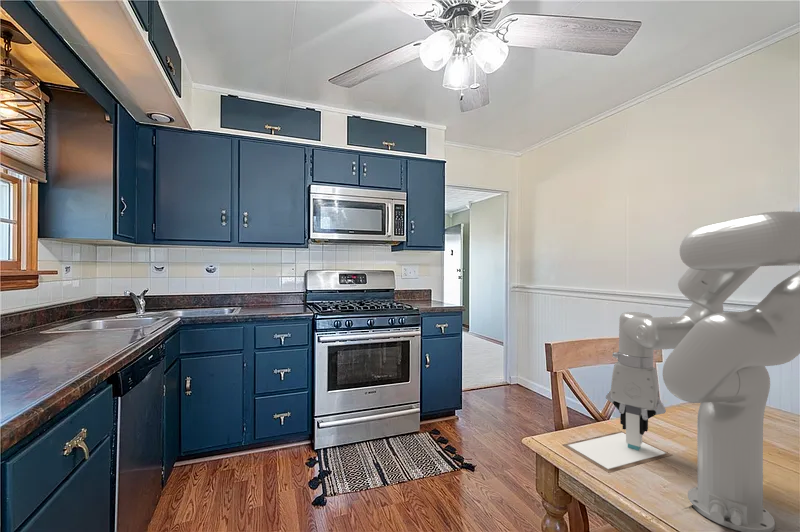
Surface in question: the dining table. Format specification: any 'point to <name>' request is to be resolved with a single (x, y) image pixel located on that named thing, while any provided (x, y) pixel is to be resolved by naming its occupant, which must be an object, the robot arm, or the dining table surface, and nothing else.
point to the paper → (614, 451)
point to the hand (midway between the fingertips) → (633, 429)
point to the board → (620, 466)
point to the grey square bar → (633, 427)
